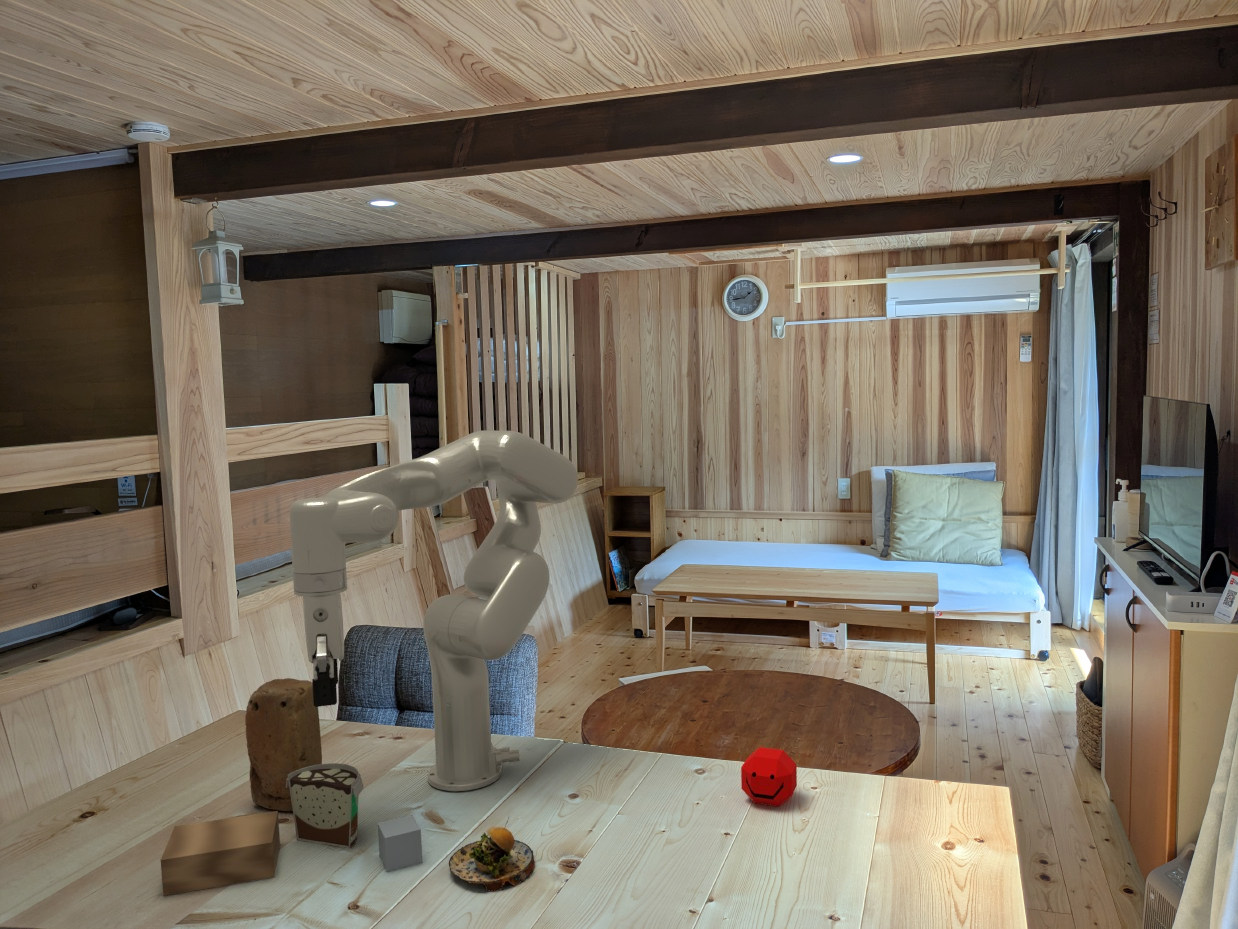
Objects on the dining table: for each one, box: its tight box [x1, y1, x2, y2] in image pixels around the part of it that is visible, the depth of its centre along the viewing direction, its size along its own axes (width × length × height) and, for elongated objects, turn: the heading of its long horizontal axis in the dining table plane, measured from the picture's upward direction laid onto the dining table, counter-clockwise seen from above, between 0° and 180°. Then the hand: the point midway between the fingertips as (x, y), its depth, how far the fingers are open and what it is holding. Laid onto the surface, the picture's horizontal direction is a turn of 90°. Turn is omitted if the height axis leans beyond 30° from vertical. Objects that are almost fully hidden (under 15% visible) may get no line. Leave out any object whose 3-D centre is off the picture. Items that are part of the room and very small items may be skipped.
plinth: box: [160, 810, 281, 897], centre depth 128 cm, size 14×10×5 cm
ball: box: [740, 747, 798, 807], centre depth 144 cm, size 8×8×8 cm
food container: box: [286, 762, 364, 849], centre depth 137 cm, size 12×6×10 cm, turn 71°
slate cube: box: [377, 814, 424, 873], centre depth 129 cm, size 5×5×5 cm
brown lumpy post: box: [244, 677, 323, 812], centre depth 148 cm, size 11×8×20 cm
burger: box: [448, 816, 535, 893], centre depth 126 cm, size 12×12×8 cm
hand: (326, 694), depth 136 cm, fingers open, 9 cm apart
